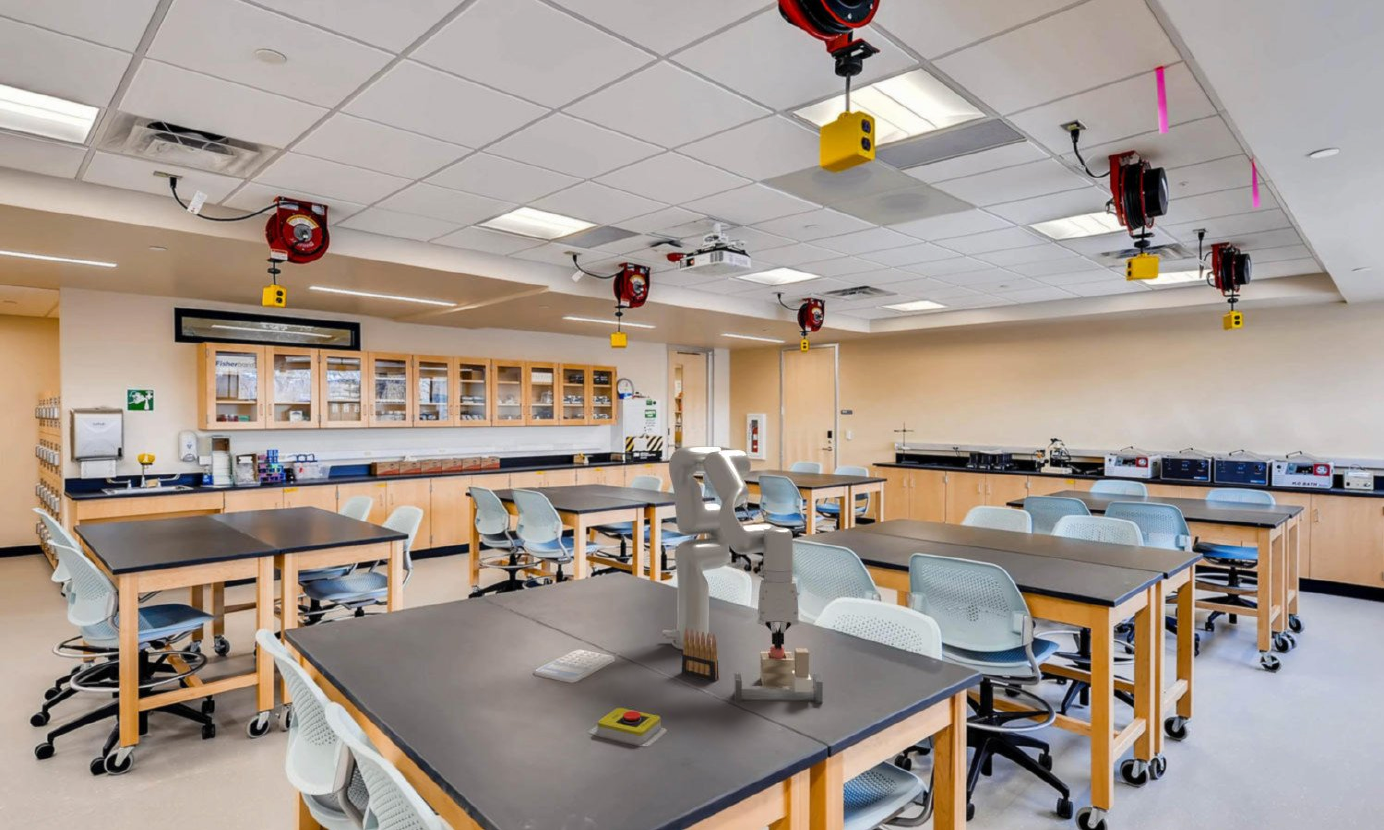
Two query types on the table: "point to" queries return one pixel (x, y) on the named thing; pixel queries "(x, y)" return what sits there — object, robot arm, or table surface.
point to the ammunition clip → (700, 657)
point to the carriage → (801, 671)
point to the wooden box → (776, 670)
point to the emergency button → (630, 727)
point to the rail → (777, 691)
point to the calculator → (574, 666)
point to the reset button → (776, 653)
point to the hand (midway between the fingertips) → (777, 646)
